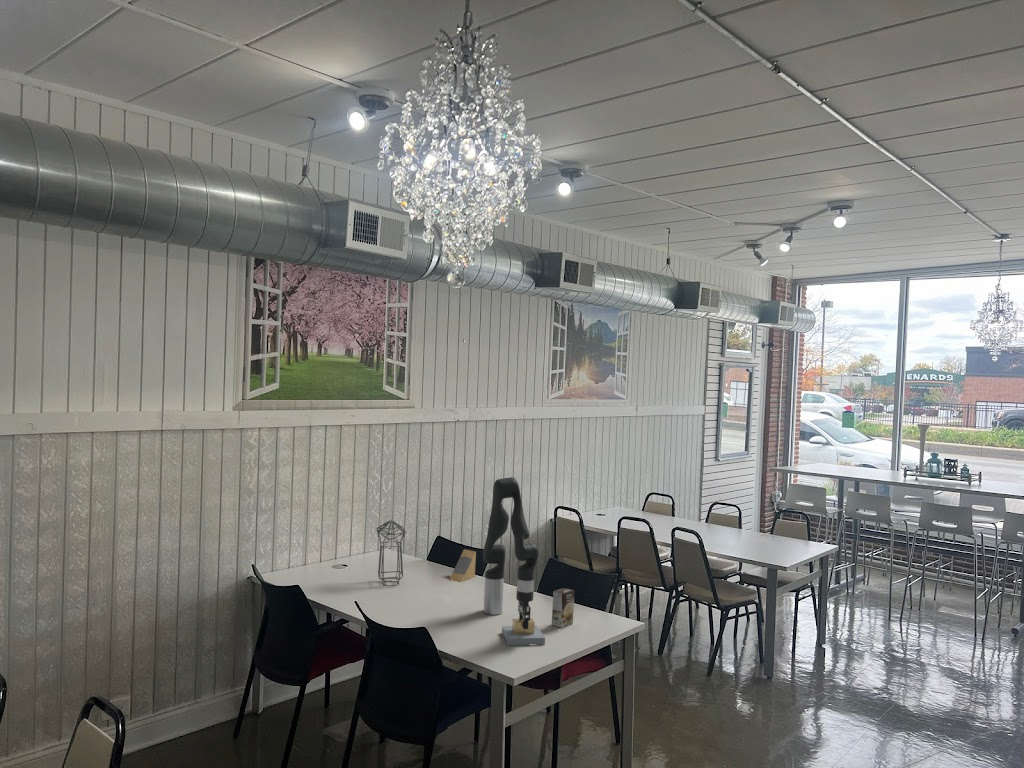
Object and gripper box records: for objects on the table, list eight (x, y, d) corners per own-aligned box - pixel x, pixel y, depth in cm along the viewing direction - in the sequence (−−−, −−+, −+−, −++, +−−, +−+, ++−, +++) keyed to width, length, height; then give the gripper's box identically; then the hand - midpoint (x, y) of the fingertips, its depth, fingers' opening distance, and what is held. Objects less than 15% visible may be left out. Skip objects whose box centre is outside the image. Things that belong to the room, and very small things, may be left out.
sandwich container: (447, 580, 419) (449, 553, 419) (462, 574, 432) (463, 549, 432) (460, 582, 415) (461, 556, 415) (475, 577, 428) (476, 551, 428)
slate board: (502, 632, 334) (502, 626, 334) (536, 632, 338) (536, 625, 338) (508, 645, 319) (509, 638, 319) (544, 644, 322) (545, 637, 322)
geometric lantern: (405, 587, 401) (407, 522, 401) (376, 588, 397) (377, 523, 397) (402, 578, 417) (404, 517, 416) (374, 580, 413) (375, 517, 412)
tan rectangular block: (512, 630, 330) (512, 619, 330) (531, 629, 332) (532, 618, 332) (514, 634, 325) (514, 622, 325) (534, 633, 327) (534, 622, 327)
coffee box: (562, 628, 345) (563, 593, 345) (551, 624, 349) (552, 590, 349) (573, 623, 352) (574, 590, 352) (562, 620, 356) (563, 587, 356)
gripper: (513, 584, 334) (512, 620, 334) (520, 594, 320) (518, 631, 320) (529, 584, 336) (528, 620, 336) (537, 593, 322) (535, 631, 322)
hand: (523, 625), depth 328 cm, fingers open, 8 cm apart
